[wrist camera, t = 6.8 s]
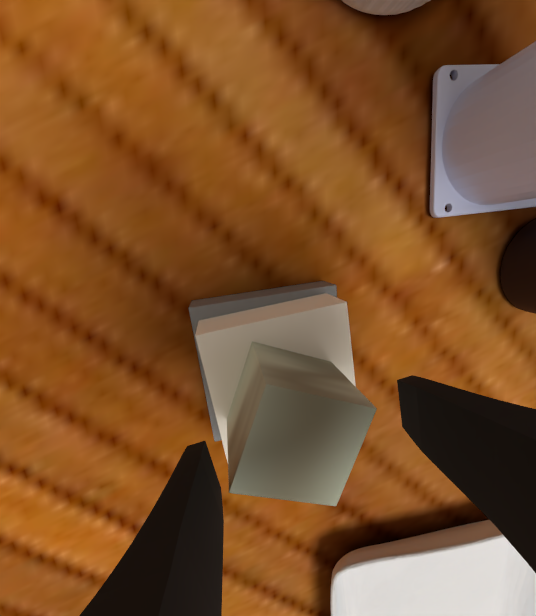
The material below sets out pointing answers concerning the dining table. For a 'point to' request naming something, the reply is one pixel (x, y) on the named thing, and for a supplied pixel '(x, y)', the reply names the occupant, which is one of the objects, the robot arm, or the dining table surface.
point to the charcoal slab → (241, 303)
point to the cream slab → (271, 342)
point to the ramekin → (385, 6)
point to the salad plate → (436, 576)
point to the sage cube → (294, 427)
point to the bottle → (521, 269)
